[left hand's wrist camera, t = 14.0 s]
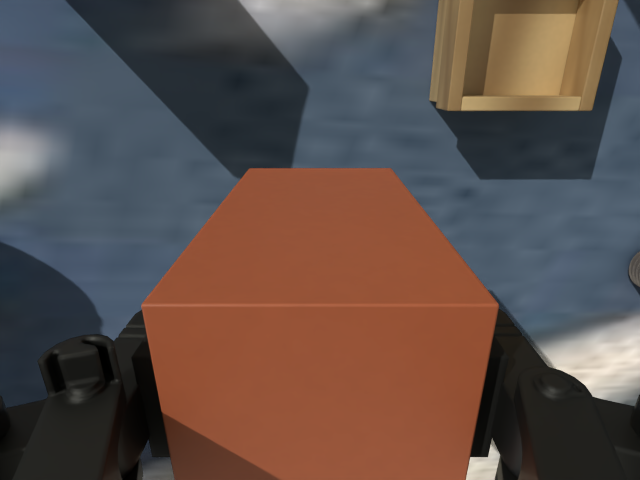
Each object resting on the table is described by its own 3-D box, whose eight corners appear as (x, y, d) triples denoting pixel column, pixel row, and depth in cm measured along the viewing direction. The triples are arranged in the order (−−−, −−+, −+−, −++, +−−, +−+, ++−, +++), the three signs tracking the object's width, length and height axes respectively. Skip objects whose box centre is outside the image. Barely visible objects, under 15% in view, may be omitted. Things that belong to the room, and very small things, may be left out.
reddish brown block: (257, 293, 19) (184, 539, 9) (248, 167, 17) (139, 304, 7) (382, 293, 19) (455, 539, 9) (391, 167, 17) (500, 304, 7)
